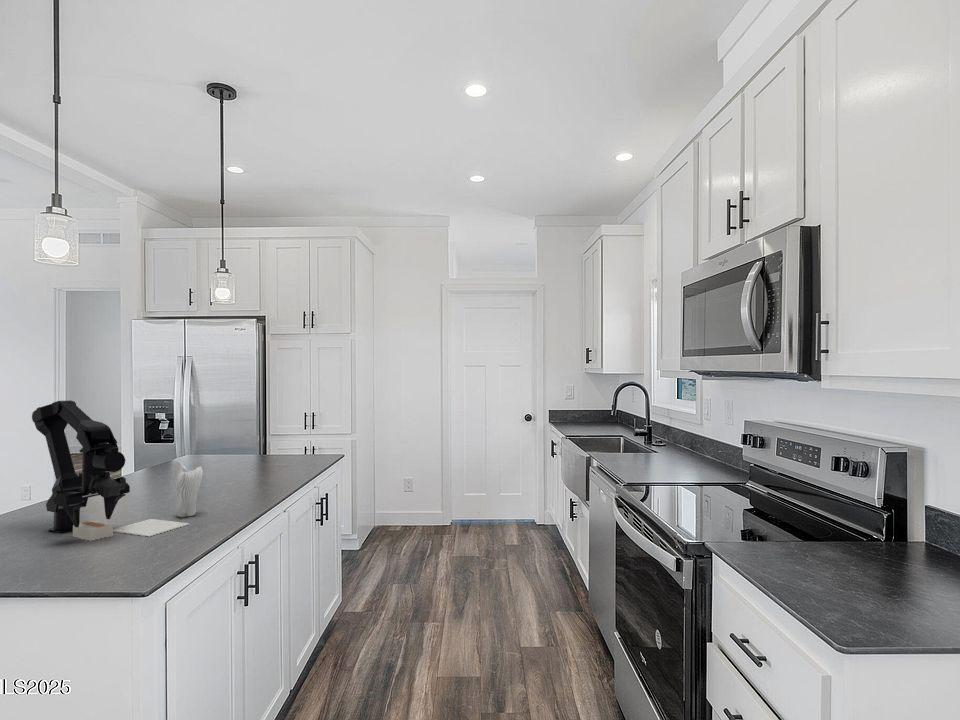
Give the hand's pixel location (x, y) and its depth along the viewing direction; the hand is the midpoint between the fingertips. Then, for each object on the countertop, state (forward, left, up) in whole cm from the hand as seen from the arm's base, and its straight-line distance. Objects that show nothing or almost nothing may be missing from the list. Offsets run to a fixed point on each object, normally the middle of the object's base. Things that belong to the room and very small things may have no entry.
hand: (92, 523), depth 161 cm
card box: (0, 0, -4) cm, 4 cm away
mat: (+8, +12, -4) cm, 15 cm away
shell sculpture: (+6, +27, -4) cm, 28 cm away
